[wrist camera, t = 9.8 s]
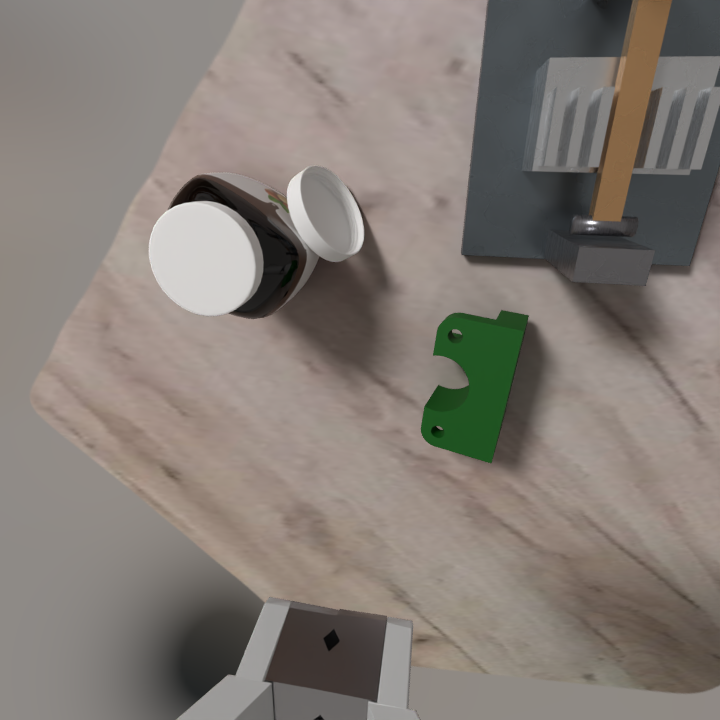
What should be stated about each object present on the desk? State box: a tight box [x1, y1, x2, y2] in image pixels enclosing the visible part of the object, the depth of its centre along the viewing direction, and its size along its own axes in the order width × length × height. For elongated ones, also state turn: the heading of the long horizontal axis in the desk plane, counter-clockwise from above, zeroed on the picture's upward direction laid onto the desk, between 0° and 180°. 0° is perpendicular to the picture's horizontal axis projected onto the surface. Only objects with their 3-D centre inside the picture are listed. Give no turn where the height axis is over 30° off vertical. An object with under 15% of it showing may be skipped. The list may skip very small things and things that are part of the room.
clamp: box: [421, 310, 529, 463], centre depth 37 cm, size 12×6×9 cm, turn 170°
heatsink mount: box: [461, 0, 720, 286], centre depth 27 cm, size 16×17×10 cm
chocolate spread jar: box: [149, 165, 364, 319], centre depth 32 cm, size 12×11×12 cm
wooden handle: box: [569, 0, 672, 237], centre depth 26 cm, size 4×13×1 cm, turn 179°
